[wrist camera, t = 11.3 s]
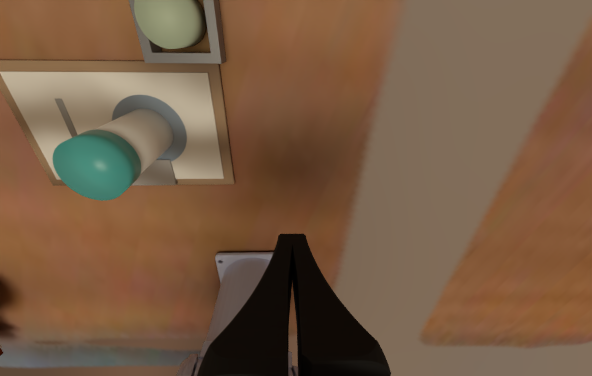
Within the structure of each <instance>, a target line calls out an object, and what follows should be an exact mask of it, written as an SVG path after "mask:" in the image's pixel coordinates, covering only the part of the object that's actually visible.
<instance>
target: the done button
mask: <svg viewBox="0 0 592 376" xmlns="http://www.w3.org/2000/svg"><path fill="white" fill-rule="evenodd" d="M134 12H135V17H136V20H137V23H138V25H139V27H140V29H141V30H142V32H143V33H144V34H145V36H146V37H147V38H148V39H149V40H151V41H152V42H153V43H155V44H156V45H158V46H160V47H163V48H167V49H177V48H185V47H191V46H194V45H196V44H197V43H199V42H200V41H201V39H202V38H203V36H204V34H205V30H206V19H205V14H204V11H203V9H202V7H201V5H200V3H199V2H198V1H197V0H135V1H134Z"/></svg>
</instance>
